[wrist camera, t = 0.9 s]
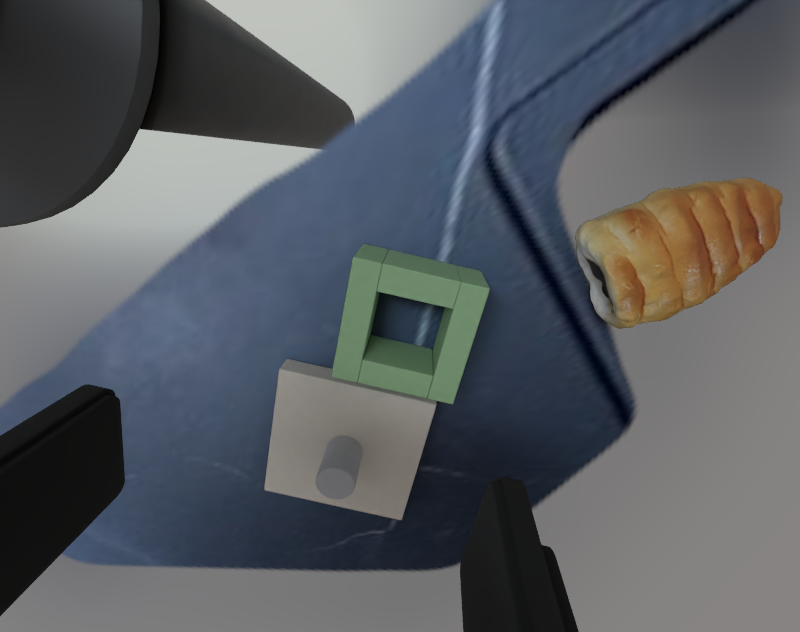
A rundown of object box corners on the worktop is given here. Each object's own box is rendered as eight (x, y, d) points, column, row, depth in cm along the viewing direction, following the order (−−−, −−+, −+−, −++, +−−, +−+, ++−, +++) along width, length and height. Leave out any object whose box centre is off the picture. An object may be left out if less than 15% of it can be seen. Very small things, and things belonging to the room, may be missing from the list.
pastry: (743, 141, 20) (811, 137, 16) (768, 260, 22) (834, 279, 18) (559, 227, 22) (585, 240, 18) (598, 329, 24) (628, 358, 21)
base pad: (286, 357, 26) (259, 395, 22) (436, 392, 26) (438, 435, 22) (271, 475, 30) (245, 526, 26) (402, 504, 30) (398, 560, 26)
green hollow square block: (363, 243, 23) (352, 256, 20) (481, 271, 23) (490, 288, 20) (343, 349, 26) (331, 377, 22) (449, 374, 26) (453, 405, 22)
